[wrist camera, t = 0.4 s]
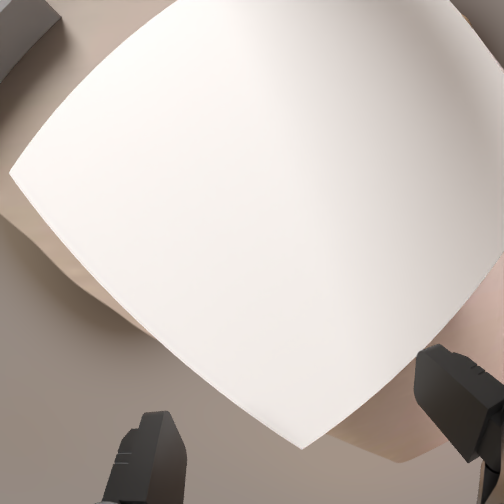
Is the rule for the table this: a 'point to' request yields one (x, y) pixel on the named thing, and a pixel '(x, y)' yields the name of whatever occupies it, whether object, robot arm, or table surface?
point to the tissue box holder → (22, 29)
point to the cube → (284, 191)
